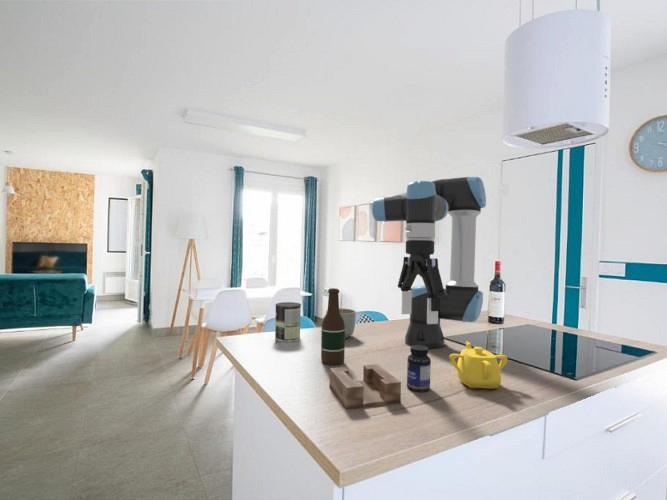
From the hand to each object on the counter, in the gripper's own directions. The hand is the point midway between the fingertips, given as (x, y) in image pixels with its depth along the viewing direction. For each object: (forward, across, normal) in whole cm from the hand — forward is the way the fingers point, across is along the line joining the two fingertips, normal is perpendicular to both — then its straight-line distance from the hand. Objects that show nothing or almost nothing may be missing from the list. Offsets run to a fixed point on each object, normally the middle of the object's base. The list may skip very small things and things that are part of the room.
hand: (418, 318), depth 98 cm
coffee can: (+19, -60, -25) cm, 67 cm away
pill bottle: (+19, 0, 0) cm, 19 cm away
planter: (+19, -58, -3) cm, 61 cm away
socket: (+19, 0, -16) cm, 24 cm away
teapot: (+19, +1, +18) cm, 26 cm away
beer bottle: (+19, -27, -16) cm, 36 cm away
